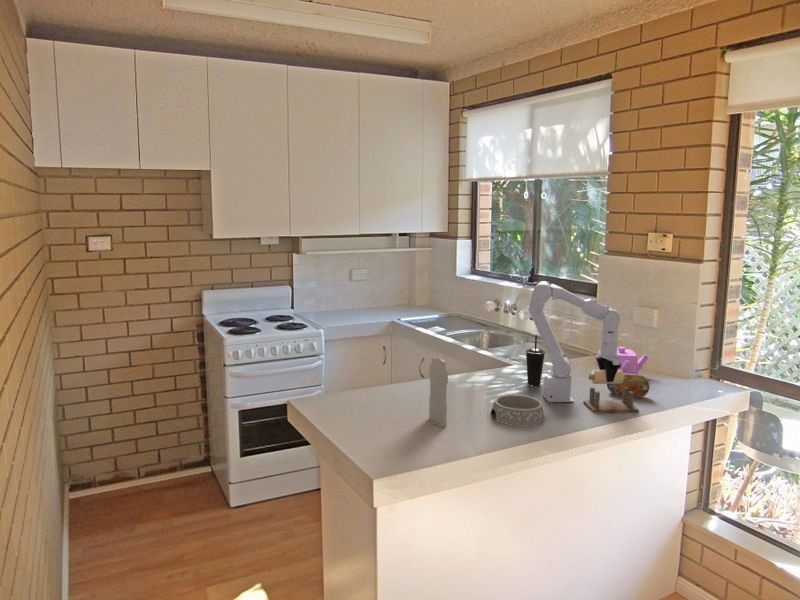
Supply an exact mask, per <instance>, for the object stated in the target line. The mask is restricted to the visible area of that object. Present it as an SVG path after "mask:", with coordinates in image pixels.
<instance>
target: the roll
mask: <svg viewBox="0 0 800 600" xmlns="http://www.w3.org/2000/svg"><path fill="white" fill-rule="evenodd" d="M587 377H588V380H589V381H591V382H592V384H593V385H603V384H604V385H607V384H619V383H623V381H624V379H626V374H623V371H622V370H617V372H616V375H615V378H614V381H613V382H607V379H606V370H600V369H592V370H591V373H589V374H588V376H587Z"/></svg>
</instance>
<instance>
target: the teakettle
mask: <svg viewBox="0 0 800 600" xmlns="http://www.w3.org/2000/svg"><path fill="white" fill-rule="evenodd" d="M617 354H619V355H620V357H618V359H619V360H620V362H619V363H620V364H621V366H620V367H619V369H618V370H622V371H623V373H626V374H635V375H639V372H640V370H642V367H643V366H644V365H645V363H646V362H647V360H648V359H649V358H650V356H649V355H646V354H643V356H641V357H640V358H639V359H638V357H637V356H638V355H637V353H635V351H634V350H632V349H629V348H626V347H625V346H618V347H617ZM596 357H600V356H599V355H598V353H597V356H596ZM595 366H597V367H598V368H599V365H598V362H597V360H596V359H595Z"/></svg>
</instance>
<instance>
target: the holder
mask: <svg viewBox="0 0 800 600" xmlns="http://www.w3.org/2000/svg"><path fill="white" fill-rule="evenodd" d="M600 395H601V393H600V391H596V388H595V387H589V399H588V400H583V404H584V405H585V407H586V408H588V409H589V410H590V412H592V413H595V414H601V413H603V414H604V413H605V414H606V413H607V414H609V413H611V414H612V413H613V414H614V413H615V414H617V413H639V412H640V409H639V408H638V407H636V406H635V405H634V397H633V396H634V393H633V392H632V391H629V392H628V388H627V387H623V396H622V397H621V398H622V399H621V400H619V399H618V400H615V399H614V400H612V399H611V400H600V397H601V396H600Z"/></svg>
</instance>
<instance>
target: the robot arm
mask: <svg viewBox="0 0 800 600" xmlns="http://www.w3.org/2000/svg"><path fill="white" fill-rule="evenodd" d="M550 299H551V300H563V301H565V302H568V303H569V304H572V305H573V306H576V307H578V308H580V310H581V312H582V313H583V314H584V315H586V316H588V317H591V318H593V319H595V320H596V321H598V322H599V321H602V328H601V336H600V349H598V350H597V354H598V355H599V356H600V357H597V356H596V358H595V361H596V360H597V362H598V365H599V367H598V368H599V369H598V370H606V379H607V382H613V381H614V378H615V375H616V372H617V370H618V369H619V367H620V366H621V364H620V363H619V362H620V360H619V359H618V357H620V355H619V354H617V348H618V347H619V345H618V344H619V342H618V341H619V331H620V330H619V324H620V322H621V318H620V314H619V312H618V310H616V309H615V308H614V307H610V306H609V305H608V304H607V305H604V304H602V303H601V302H598V299H596V298H587V299H584V298H582V297H581V296H578V295H576V294H574V293H573V292H571V291H569V290H568V289H565V288H564V287H561V286H559V285H557V284H554V283H550V282H548V281H547V280H546V281H545V280H543V281H539V282H538V283H536V285H535V286H534V288H533V291H532V293H531V294H530V300H529V307H528V312H529V314H530V316H531V319H532V320H533V323H534V326H535V328H536V329H537V332H538V334H539V336H540V338H541V340H542V342H543V344H544V347H545V348H546V351H547V353H548V355H549V359H550V362H551V364H552V372H550V373H551V374H549V375H545V376H544V380H543V394H542V396H543V398H544V399H545V400H546V401H547V402H548V403H574V402H575V400H574V399H573V398H572V396H571V394H572V393H571V391H572V373H571V370H572V368H571V365H572V361H571V359H570V358H569V356H567V355H566V354H565V353H564V351H563V349H562V348H561V345H560V344H559V342H558V339H557V338H556V335H555V333H554V331H553V329H552V327H551V324H550V322H549V320H548V318H547V316H546V313H545V311H544V310H543V309H544V307H545V305H546V303H547V302H548V301H549V300H550Z"/></svg>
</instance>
